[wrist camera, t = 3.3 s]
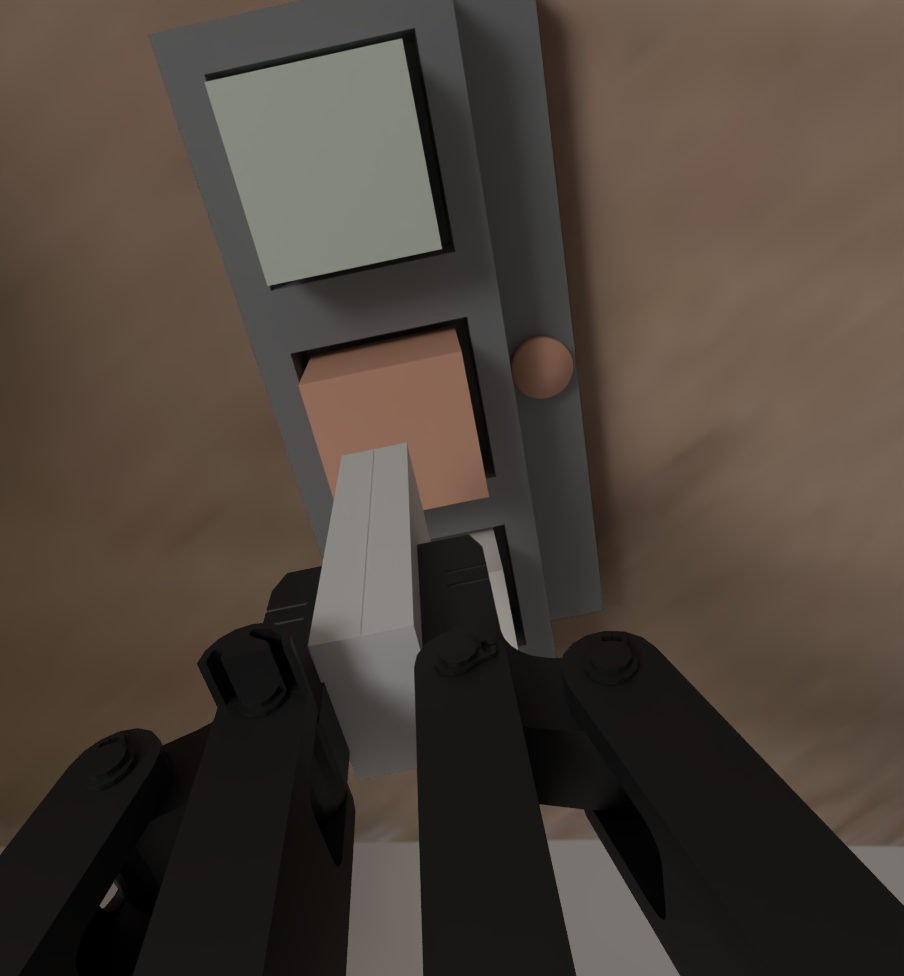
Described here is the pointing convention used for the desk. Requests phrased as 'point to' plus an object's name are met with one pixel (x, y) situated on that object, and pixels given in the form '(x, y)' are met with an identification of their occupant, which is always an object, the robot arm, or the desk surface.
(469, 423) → the terracotta key
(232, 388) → the desk surface
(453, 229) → the key console
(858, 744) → the desk surface
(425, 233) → the sage key
